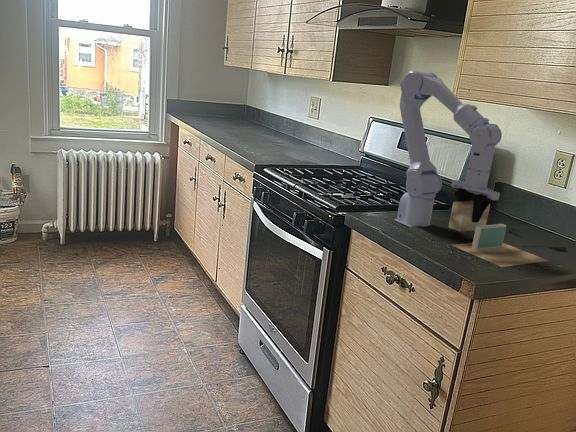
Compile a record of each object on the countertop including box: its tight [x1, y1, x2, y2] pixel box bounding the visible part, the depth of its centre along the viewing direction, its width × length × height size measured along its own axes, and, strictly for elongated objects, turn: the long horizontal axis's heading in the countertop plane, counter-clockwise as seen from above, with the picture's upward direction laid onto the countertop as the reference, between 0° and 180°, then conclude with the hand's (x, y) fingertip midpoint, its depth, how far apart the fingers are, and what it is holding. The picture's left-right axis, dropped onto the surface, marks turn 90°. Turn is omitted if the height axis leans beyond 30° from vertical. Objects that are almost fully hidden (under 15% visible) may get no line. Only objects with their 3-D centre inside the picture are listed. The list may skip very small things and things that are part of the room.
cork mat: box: [451, 242, 549, 268], centre depth 140 cm, size 16×18×1 cm
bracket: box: [507, 228, 567, 252], centre depth 156 cm, size 14×15×3 cm
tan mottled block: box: [447, 200, 491, 232], centre depth 148 cm, size 4×10×7 cm, turn 121°
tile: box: [471, 223, 507, 250], centre depth 142 cm, size 2×10×6 cm, turn 121°
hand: (468, 219), depth 148 cm, fingers closed on tan mottled block, 4 cm apart
